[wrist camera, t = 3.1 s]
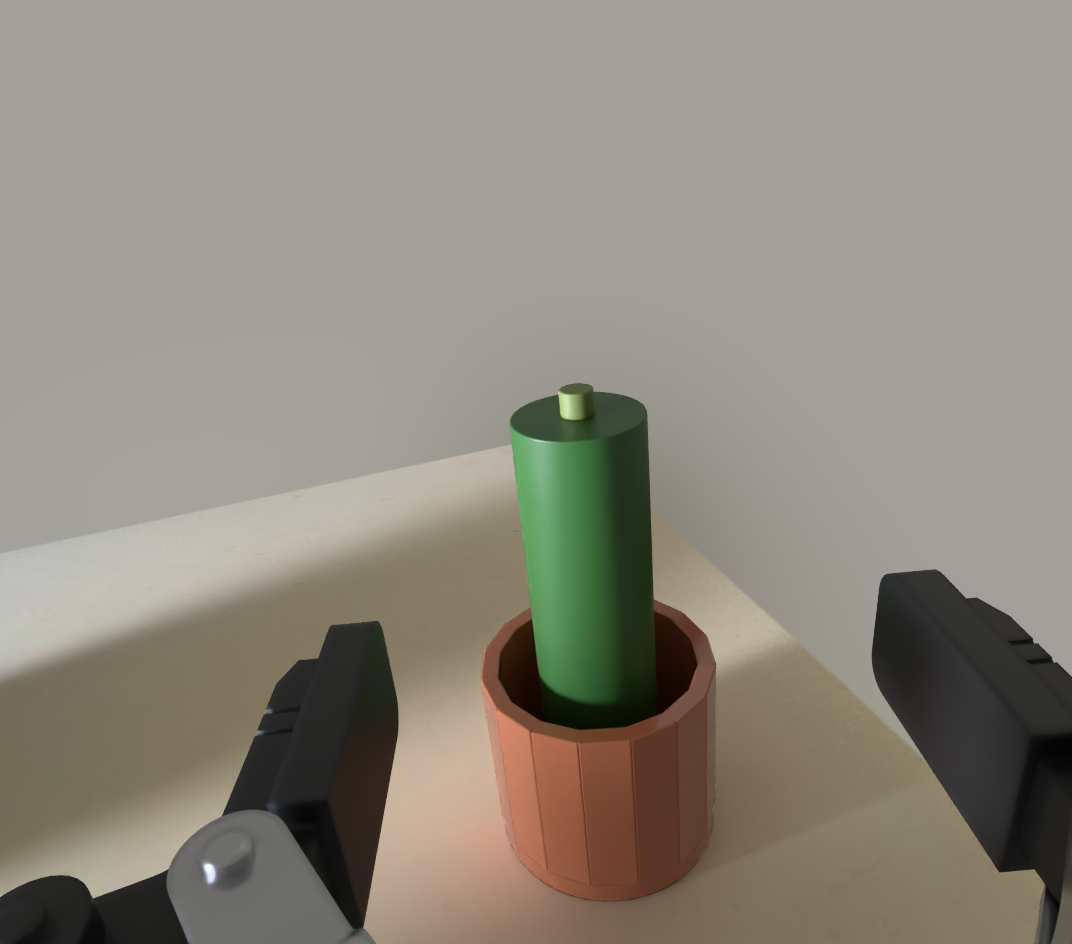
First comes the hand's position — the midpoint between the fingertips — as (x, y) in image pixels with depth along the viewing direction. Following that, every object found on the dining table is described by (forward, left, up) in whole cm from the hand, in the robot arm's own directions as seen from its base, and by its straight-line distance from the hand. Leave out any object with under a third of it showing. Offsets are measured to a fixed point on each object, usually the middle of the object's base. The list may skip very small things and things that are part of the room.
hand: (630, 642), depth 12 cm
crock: (+4, -10, -16) cm, 19 cm away
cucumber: (+5, -10, -15) cm, 19 cm away
